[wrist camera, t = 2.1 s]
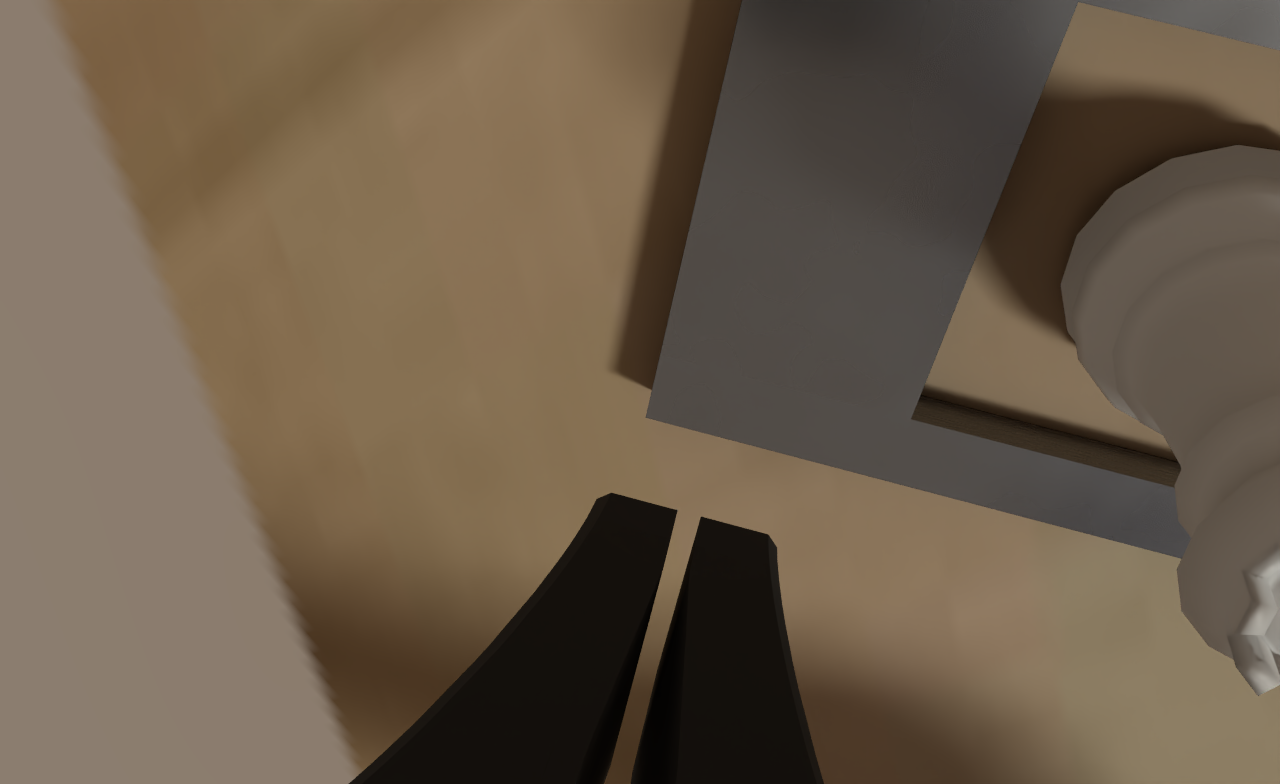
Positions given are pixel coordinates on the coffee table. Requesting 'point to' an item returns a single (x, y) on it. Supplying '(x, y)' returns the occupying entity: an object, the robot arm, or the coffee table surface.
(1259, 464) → the rook chess piece
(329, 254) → the coffee table surface
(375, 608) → the coffee table surface
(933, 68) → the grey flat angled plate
